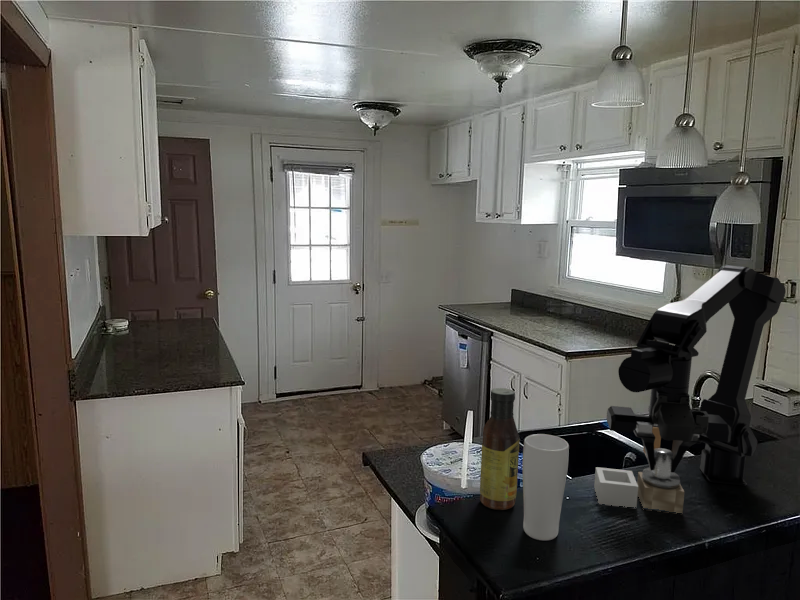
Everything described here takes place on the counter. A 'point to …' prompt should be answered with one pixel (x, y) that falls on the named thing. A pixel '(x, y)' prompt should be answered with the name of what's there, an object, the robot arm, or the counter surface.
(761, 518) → the counter surface
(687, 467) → the counter surface
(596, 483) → the grey block
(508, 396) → the sauce bottle
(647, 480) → the grey flanged peg
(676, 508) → the birch socket block
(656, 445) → the tan and grey l-block
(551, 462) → the drinking glass
